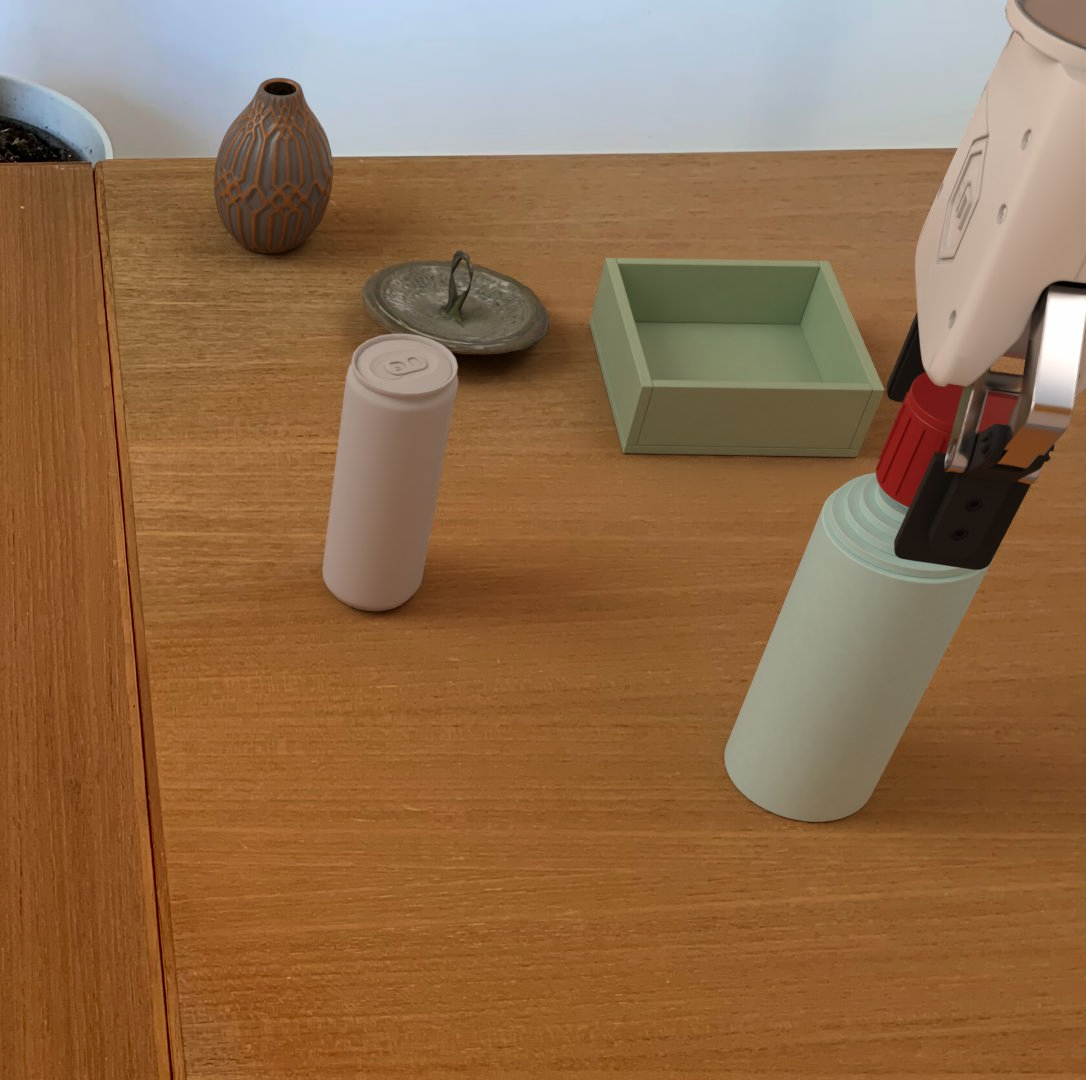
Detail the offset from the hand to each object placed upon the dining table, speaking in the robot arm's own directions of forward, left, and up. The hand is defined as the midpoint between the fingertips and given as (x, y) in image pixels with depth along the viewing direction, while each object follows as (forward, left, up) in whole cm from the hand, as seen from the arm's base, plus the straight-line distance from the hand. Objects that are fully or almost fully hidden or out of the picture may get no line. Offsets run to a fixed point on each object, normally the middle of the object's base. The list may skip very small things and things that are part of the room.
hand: (932, 477), depth 62 cm
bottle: (0, 0, -15) cm, 15 cm away
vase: (+22, -44, -16) cm, 52 cm away
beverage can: (+18, -12, -16) cm, 27 cm away
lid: (+12, -34, -16) cm, 39 cm away
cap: (0, 0, 0) cm, 0 cm away
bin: (-2, -29, -15) cm, 33 cm away
